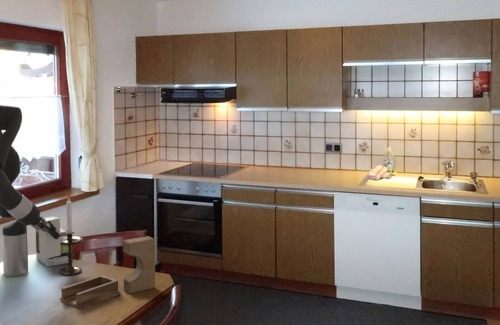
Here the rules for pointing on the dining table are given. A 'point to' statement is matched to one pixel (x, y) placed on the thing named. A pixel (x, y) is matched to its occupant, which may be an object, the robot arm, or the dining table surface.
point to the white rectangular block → (50, 240)
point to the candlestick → (70, 244)
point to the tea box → (57, 259)
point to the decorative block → (140, 264)
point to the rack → (90, 291)
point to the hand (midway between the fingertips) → (54, 236)
